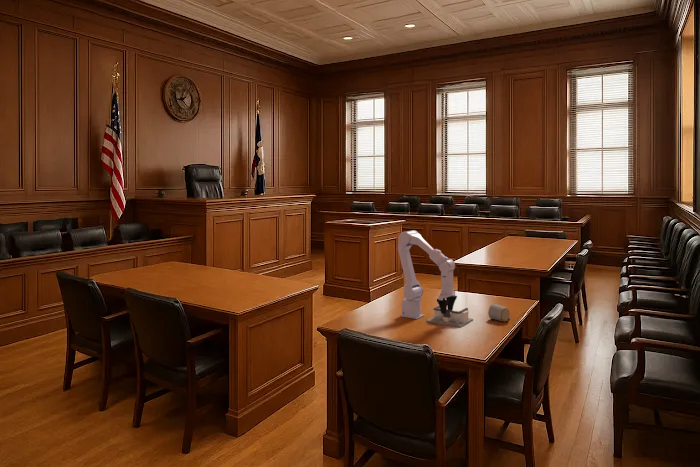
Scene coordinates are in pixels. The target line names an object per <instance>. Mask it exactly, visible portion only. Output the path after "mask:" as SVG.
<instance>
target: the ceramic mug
mask: <svg viewBox="0 0 700 467" xmlns="http://www.w3.org/2000/svg"><path fill="white" fill-rule="evenodd" d="M487 315H488V317H489V319H492V320H495V321H499V322H506V321H508V320H509V319H510V318H511V315H510V310H509V308H507V307H505V306H503V305H500V304H498V303H497V304H496V303H492V304H490V306H489V308H488V312H487Z"/></svg>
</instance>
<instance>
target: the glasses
mask: <svg viewBox="0 0 700 467" xmlns="http://www.w3.org/2000/svg"><path fill="white" fill-rule="evenodd" d="M439 308H440V306H439V305H438V306H437V305H436V306H435V307H433V311H434V310H436V311H435V313H434V312H433V314H435V317H436V318H438V319H440V318H442V317H448V318H449V317H450V318H451V320H453V321H457V320H458V319H459V314H461V313H462V312H464V311H466V310H467V311H468V312H469V307H465V308H463V309H461V310H455V311H451V310H448V308H447V309H446V314H442V313H441V310H440V309H439ZM458 311H459V312H458ZM450 313H451V314H450Z"/></svg>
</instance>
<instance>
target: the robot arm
mask: <svg viewBox="0 0 700 467" xmlns="http://www.w3.org/2000/svg"><path fill="white" fill-rule="evenodd" d="M397 240H398V244H397V251H398V255H399V259H400V263H401V268H402V272H403V277H404V280H405V282H404V285H403V297H404V298H403V299H402V301H401V304H400V305H401V313H400V314H401V315H400V317H402V318H407V319H408V318H409V319H415V320H418V319H420V318H422V317H424V316H425V315H424V314H421V313H422V312H421V311H422V310H421V305H422V303H421V302H422V300H421V299H422V296H423V295H424V289H423V287H422V285H421V282H420V281H419V280H418V279H417V277H416V273H415V269H414V265H413V261H412V257H411V252H410V249H411V247H413V245H416V246H418V247H419V248H421V249H422V250H423V251H424V252H426V253H427V254H428V255H429V256H428V257H429V259H430V260H431V261H433V263H434V264H436V265H437V266H438V270H439V271H440V282H441V283H440V293H439V295H438V298H437V299H436V302H437V304H438V306H440V310H441V313H442V314H446V309H448V310H451V311H452V310H454V307H455V306H454V305H455V303H456V300H457V298H458V296H457V295H456V291H455V290H454V270H455V269H456V263H455V260H453V259H452V258H449V257H447V256H445V254H444V253H442V250H440V249H438V248H434V247H432V246H431V245H430V244H429V242H427V241H426V240H425V239H424V238H423V237H422V234H420V233H419V232H418V231H417V230H414V229H413V230H408V231H407V230H406V231H402V232H400V234H399V235H398V237H397Z"/></svg>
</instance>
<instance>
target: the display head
mask: <svg viewBox="0 0 700 467" xmlns="http://www.w3.org/2000/svg"><path fill="white" fill-rule="evenodd" d="M439 309H440V308H439ZM433 311H434V312H433V314H434V313H435V311H436V310H434V309H433ZM452 311H456V310H455V309H453V310H452ZM457 311H458V312H459V311H460V310H457ZM450 314H451V313H450ZM473 321H474V318H471V317H469V310H468V311H467V310H466V311H464V312H462V313H461V314H459V319H458V320H457V321H453V320H451V318H450V317H449V318H448V317H442V318H440V319H438V318H436V317H435V314H434V315H433V316H432V317H431V318H428V319H426V323H431V324H436V325H442V326H448V327H449V326H450V327H456V328H460V329H461V328H463V327H464V326H466V325H468V324H469V323H471V322H473Z"/></svg>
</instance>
